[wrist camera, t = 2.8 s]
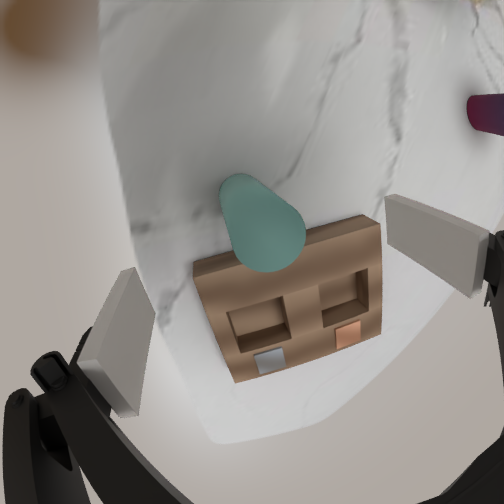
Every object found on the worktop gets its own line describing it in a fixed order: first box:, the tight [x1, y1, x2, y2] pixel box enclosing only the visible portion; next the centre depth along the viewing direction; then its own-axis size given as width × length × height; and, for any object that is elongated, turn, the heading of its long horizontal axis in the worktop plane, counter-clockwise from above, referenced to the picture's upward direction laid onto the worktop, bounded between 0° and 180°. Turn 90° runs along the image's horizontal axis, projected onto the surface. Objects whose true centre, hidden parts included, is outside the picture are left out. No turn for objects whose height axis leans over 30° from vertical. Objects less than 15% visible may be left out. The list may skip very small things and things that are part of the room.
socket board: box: [193, 214, 382, 383], centre depth 29 cm, size 14×18×4 cm
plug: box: [219, 174, 306, 272], centre depth 21 cm, size 4×4×12 cm
